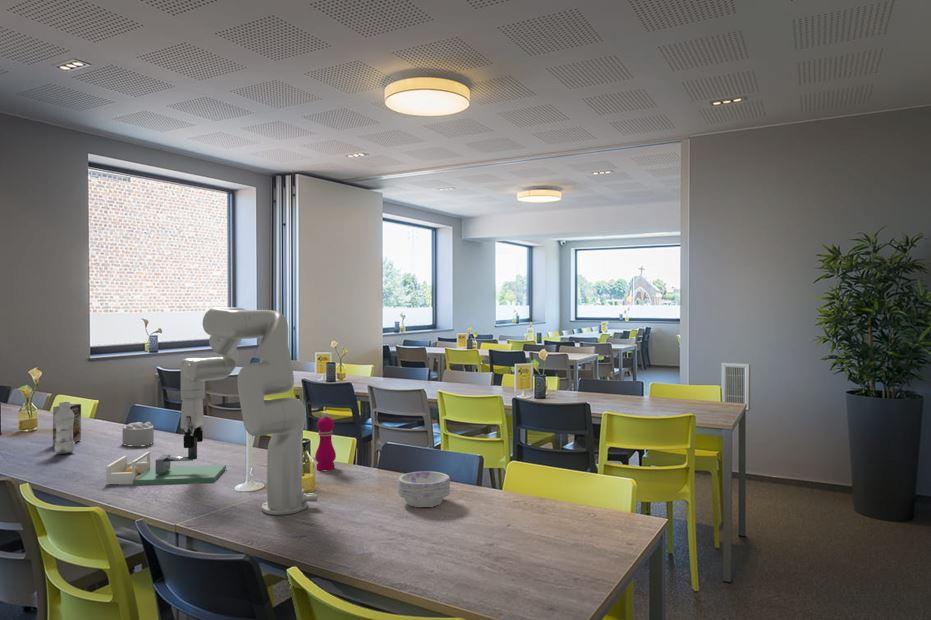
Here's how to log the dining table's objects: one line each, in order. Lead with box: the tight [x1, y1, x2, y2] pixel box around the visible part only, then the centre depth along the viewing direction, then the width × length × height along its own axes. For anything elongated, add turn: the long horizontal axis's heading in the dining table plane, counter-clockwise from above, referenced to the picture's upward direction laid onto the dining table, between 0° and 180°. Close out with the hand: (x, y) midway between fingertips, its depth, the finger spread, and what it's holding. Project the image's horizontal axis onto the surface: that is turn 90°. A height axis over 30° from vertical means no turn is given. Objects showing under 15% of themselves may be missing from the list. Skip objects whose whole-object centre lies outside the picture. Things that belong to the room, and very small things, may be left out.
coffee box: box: [52, 403, 82, 446], centre depth 255 cm, size 9×6×16 cm
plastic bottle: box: [54, 401, 76, 455], centre depth 237 cm, size 6×7×20 cm
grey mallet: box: [155, 437, 198, 474], centre depth 205 cm, size 12×7×11 cm, turn 98°
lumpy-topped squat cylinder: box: [122, 421, 155, 447], centre depth 255 cm, size 10×13×9 cm
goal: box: [105, 451, 151, 486], centre depth 203 cm, size 9×14×7 cm, turn 8°
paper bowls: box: [397, 470, 451, 508], centre depth 178 cm, size 15×15×8 cm
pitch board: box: [132, 464, 227, 486], centre depth 206 cm, size 25×16×2 cm, turn 98°
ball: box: [125, 466, 139, 478], centre depth 203 cm, size 4×4×4 cm
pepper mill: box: [314, 412, 337, 472], centre depth 216 cm, size 7×7×20 cm
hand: (193, 444), depth 206 cm, fingers open, 9 cm apart
